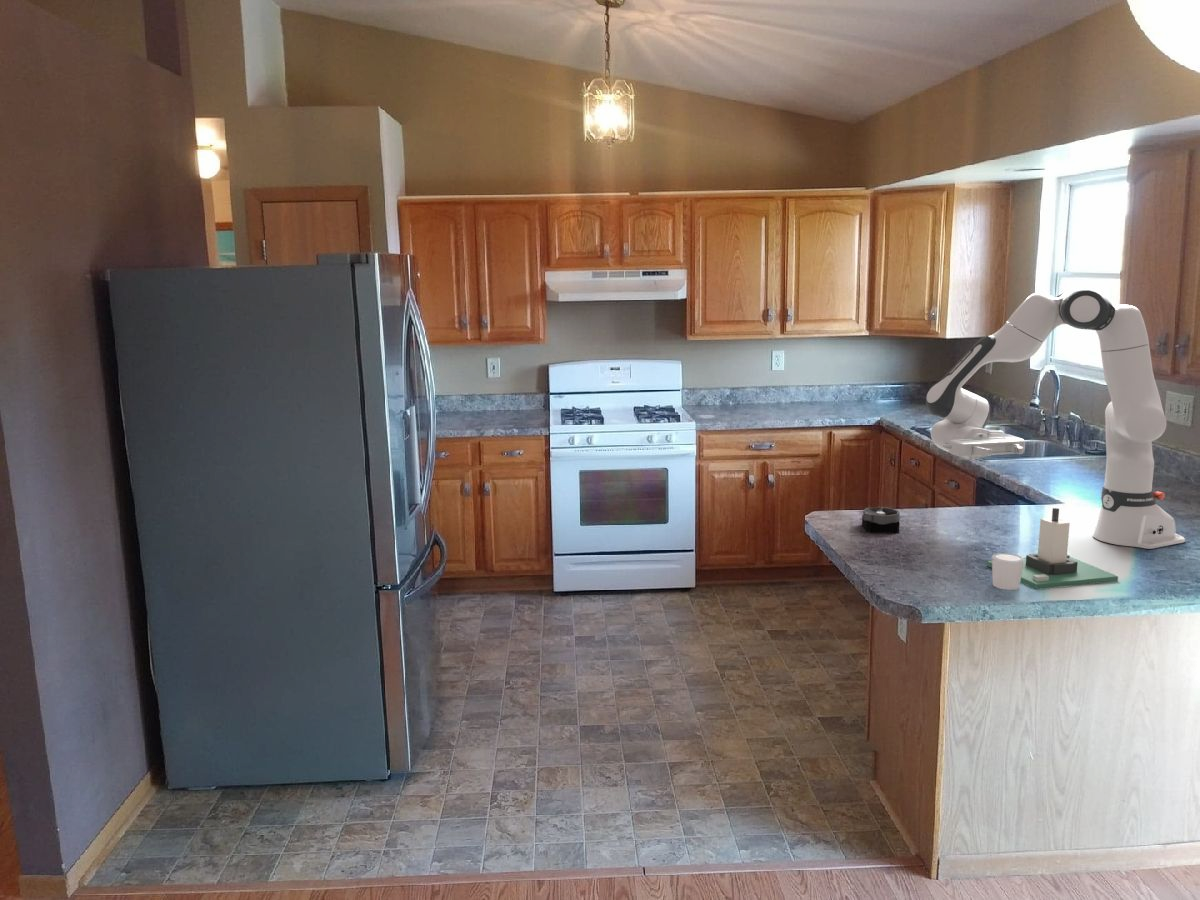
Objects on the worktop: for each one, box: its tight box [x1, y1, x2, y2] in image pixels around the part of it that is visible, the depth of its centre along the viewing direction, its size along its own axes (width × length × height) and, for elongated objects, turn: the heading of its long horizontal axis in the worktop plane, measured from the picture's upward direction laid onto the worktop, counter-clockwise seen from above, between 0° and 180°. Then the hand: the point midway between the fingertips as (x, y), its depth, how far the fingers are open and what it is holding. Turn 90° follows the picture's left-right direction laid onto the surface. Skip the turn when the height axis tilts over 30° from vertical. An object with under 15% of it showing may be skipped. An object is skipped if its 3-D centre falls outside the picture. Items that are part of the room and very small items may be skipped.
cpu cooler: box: [861, 506, 901, 534], centre depth 255 cm, size 10×6×10 cm
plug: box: [1037, 507, 1070, 564], centre depth 213 cm, size 4×5×15 cm
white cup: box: [991, 552, 1025, 591], centre depth 206 cm, size 7×7×7 cm
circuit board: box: [986, 552, 1119, 590], centre depth 214 cm, size 22×18×4 cm
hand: (1005, 451), depth 231 cm, fingers open, 8 cm apart
